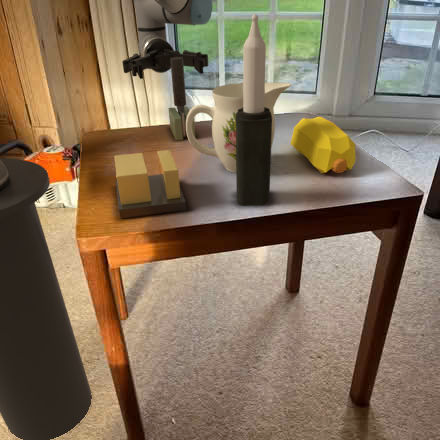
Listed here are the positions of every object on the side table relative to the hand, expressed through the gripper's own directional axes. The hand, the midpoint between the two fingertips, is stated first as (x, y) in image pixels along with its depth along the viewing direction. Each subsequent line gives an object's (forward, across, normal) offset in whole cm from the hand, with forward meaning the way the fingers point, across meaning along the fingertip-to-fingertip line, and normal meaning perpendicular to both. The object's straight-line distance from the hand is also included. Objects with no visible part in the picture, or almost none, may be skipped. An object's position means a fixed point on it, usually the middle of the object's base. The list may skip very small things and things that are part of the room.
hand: (171, 69), depth 100 cm
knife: (+9, 0, -11) cm, 14 cm away
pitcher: (+32, -6, -12) cm, 35 cm away
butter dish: (+41, +11, -11) cm, 44 cm away
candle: (+46, -5, -12) cm, 48 cm away
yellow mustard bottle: (+34, -22, -12) cm, 42 cm away
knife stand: (+9, 0, -11) cm, 14 cm away
